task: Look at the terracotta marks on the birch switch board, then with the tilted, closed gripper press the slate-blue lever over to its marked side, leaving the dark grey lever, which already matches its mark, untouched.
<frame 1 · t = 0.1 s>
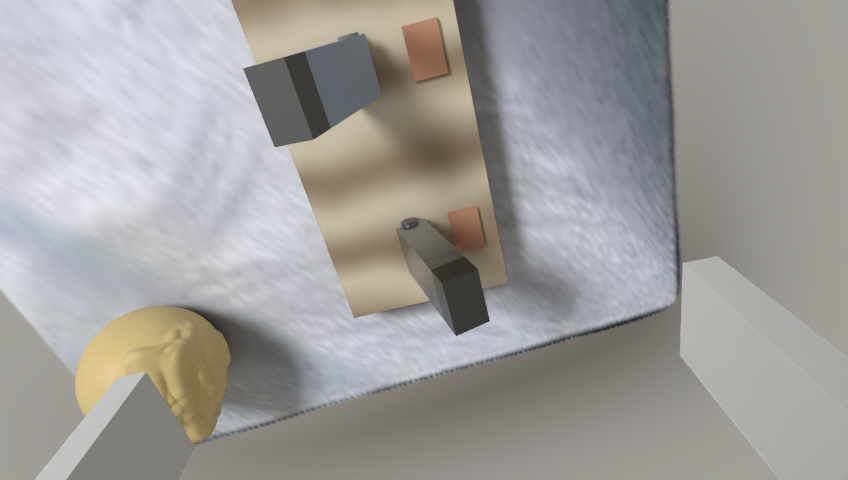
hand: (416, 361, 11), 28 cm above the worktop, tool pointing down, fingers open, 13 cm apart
sculpture: (184, 337, 45), on the worktop
lever a: (327, 83, 27), point 8 cm above the worktop, hinge at 18.0°
lever b: (436, 268, 33), point 8 cm above the worktop, hinge at -18.0°
switch board: (391, 151, 37), on the worktop
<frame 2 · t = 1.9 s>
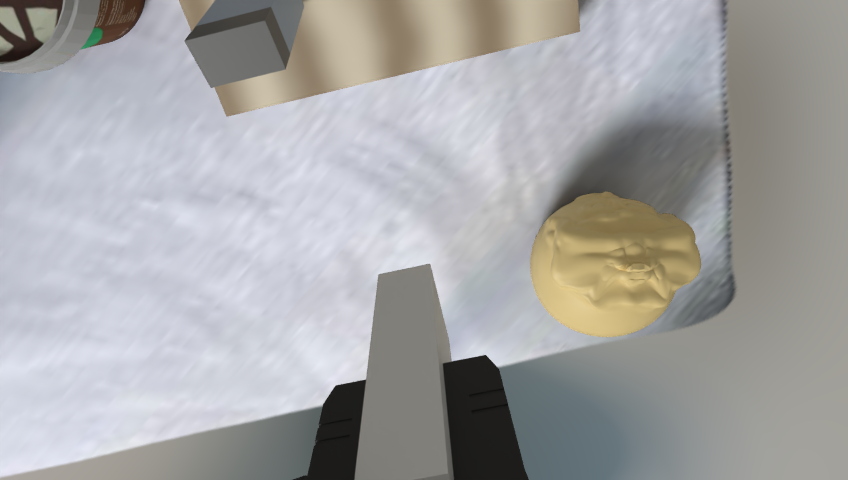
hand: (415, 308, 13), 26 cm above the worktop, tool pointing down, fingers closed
sculpture: (581, 237, 42), on the worktop
lever a: (255, 18, 26), point 8 cm above the worktop, hinge at 18.0°
food container: (75, 13, 33), on the worktop
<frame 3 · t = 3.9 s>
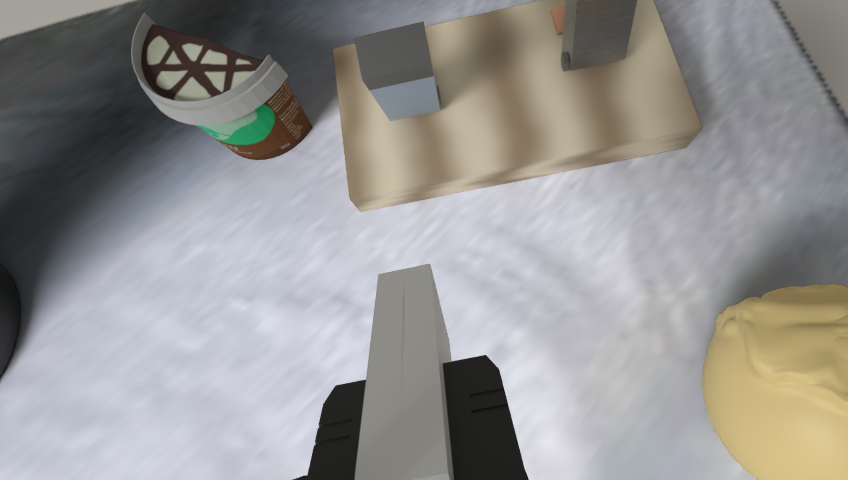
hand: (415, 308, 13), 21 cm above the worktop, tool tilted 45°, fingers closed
sculpture: (771, 389, 30), on the worktop
lever a: (404, 81, 31), point 8 cm above the worktop, hinge at 18.0°
switch board: (500, 105, 38), on the worktop
food container: (253, 140, 41), on the worktop
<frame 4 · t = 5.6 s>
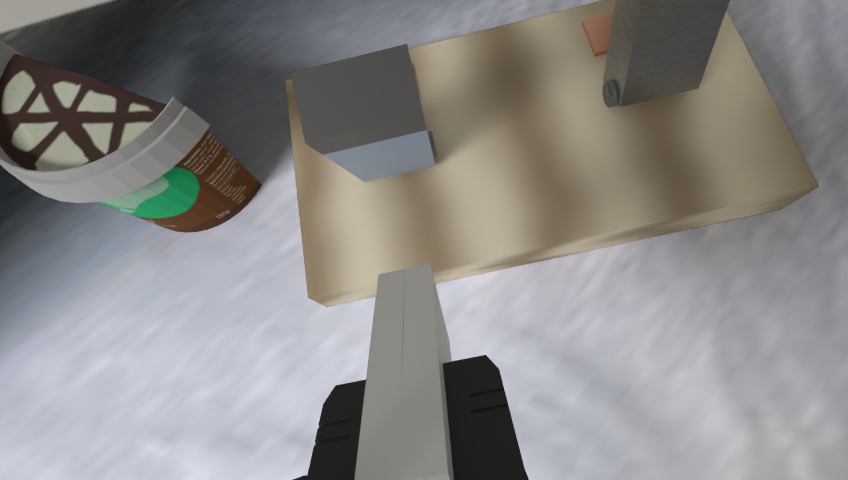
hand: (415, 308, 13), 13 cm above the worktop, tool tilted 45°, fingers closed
lever a: (381, 132, 20), point 8 cm above the worktop, hinge at 18.0°
switch board: (516, 152, 28), on the worktop
food container: (183, 204, 30), on the worktop
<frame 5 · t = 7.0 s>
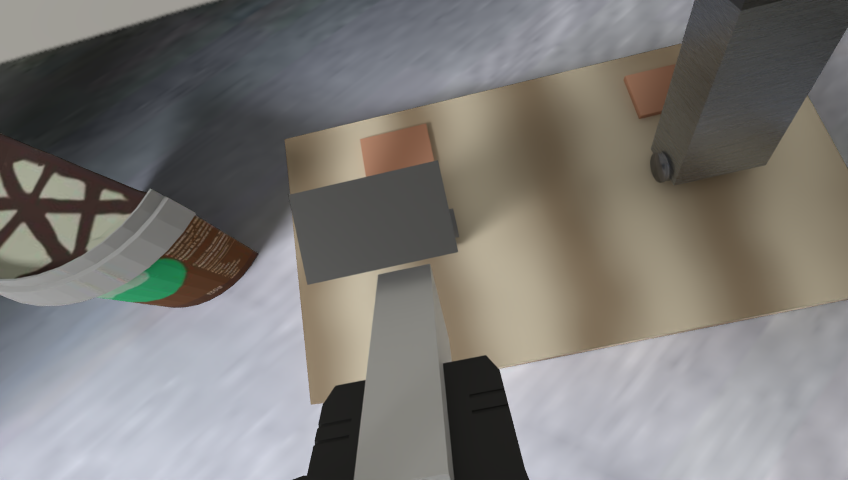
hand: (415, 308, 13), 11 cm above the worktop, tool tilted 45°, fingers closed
lever a: (398, 229, 17), point 8 cm above the worktop, hinge at 17.3°, touching gripper
lever b: (744, 68, 17), point 8 cm above the worktop, hinge at -18.0°
switch board: (545, 222, 25), on the worktop
food container: (170, 273, 27), on the worktop
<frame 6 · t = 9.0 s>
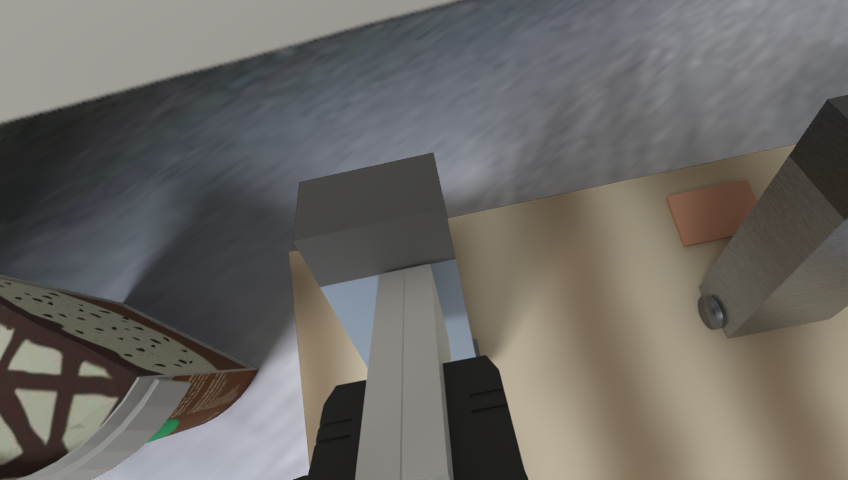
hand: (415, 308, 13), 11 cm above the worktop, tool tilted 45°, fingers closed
lever a: (407, 304, 16), point 8 cm above the worktop, hinge at -25.8°, touching gripper
lever b: (822, 239, 15), point 8 cm above the worktop, hinge at -18.0°
switch board: (575, 346, 23), on the worktop
food container: (161, 388, 25), on the worktop
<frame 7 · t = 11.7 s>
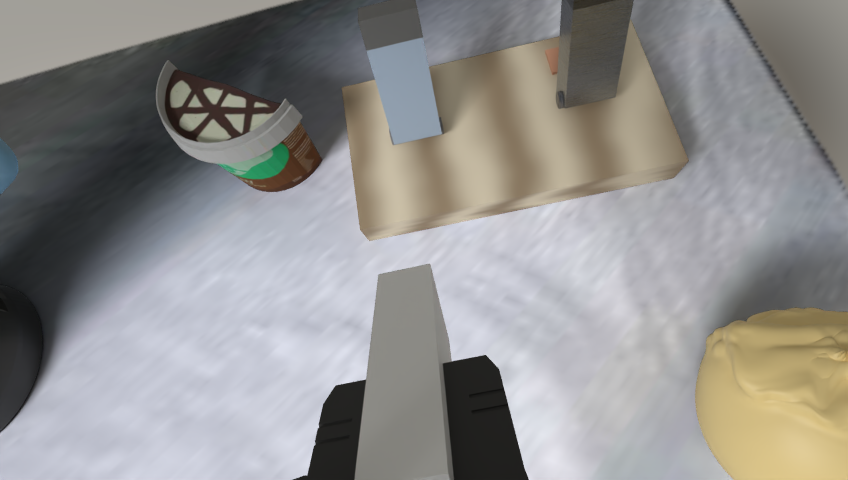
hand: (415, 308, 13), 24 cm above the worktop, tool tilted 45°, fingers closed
sculpture: (761, 406, 32), on the worktop
lever a: (404, 80, 35), point 8 cm above the worktop, hinge at -24.2°
lever b: (591, 40, 33), point 8 cm above the worktop, hinge at -18.0°
switch board: (499, 139, 41), on the worktop
food container: (266, 172, 43), on the worktop
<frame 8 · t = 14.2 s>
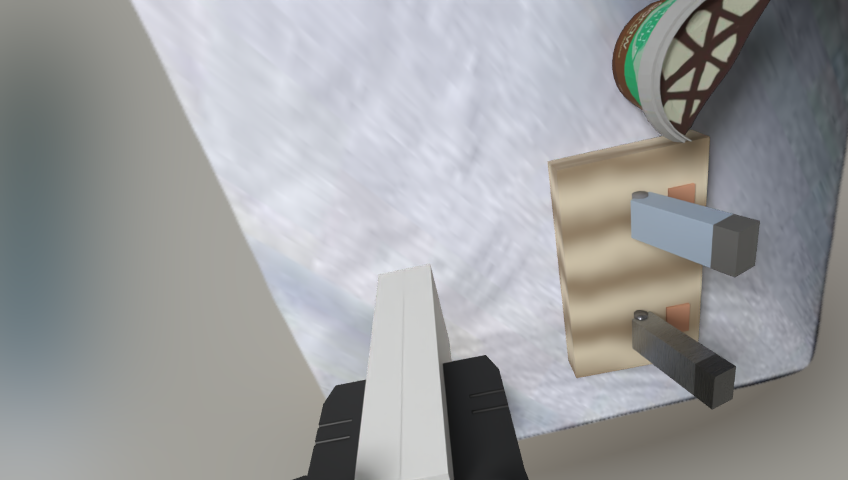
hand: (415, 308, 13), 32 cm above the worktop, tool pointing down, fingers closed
lever a: (684, 229, 40), point 8 cm above the worktop, hinge at -24.2°
lever b: (675, 354, 46), point 8 cm above the worktop, hinge at -18.0°
switch board: (622, 259, 50), on the worktop
food container: (636, 42, 41), on the worktop
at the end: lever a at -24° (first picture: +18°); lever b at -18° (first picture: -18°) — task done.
